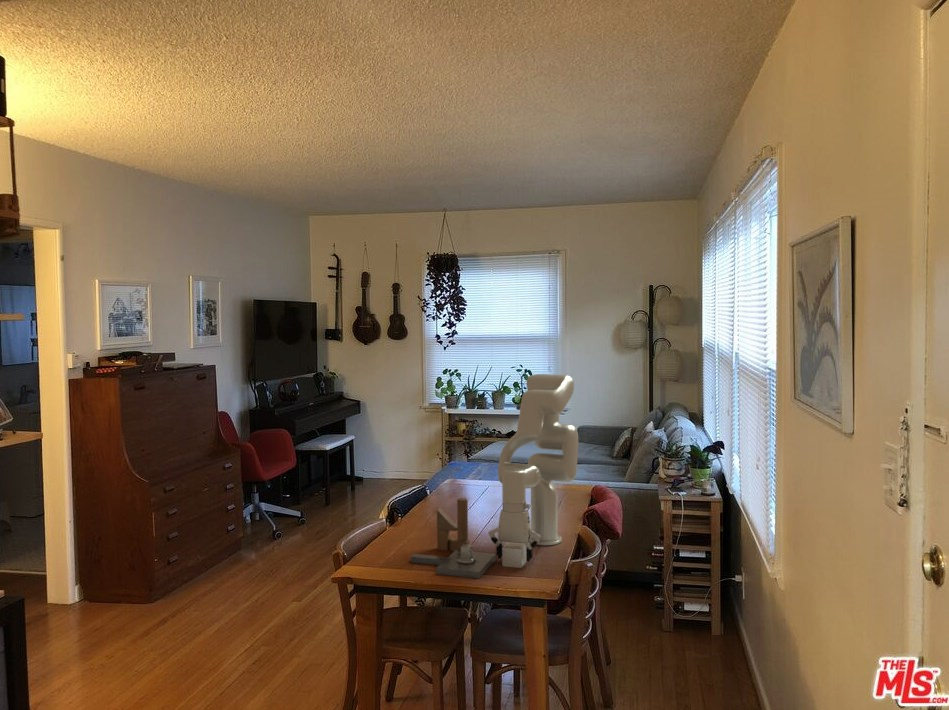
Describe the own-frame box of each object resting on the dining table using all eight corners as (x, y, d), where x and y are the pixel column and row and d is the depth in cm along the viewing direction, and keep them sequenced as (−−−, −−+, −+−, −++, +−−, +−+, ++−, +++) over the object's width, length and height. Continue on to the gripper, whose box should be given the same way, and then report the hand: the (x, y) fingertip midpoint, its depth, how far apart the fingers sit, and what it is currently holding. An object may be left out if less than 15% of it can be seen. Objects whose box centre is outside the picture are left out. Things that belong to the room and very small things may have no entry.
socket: (507, 559, 227) (507, 541, 227) (526, 561, 225) (526, 543, 225) (502, 566, 221) (502, 547, 221) (521, 568, 219) (521, 549, 219)
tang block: (422, 552, 235) (422, 533, 235) (495, 559, 227) (495, 539, 227) (401, 570, 218) (401, 549, 218) (479, 578, 210) (478, 556, 210)
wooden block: (440, 547, 241) (439, 496, 241) (469, 549, 239) (469, 498, 238) (437, 550, 238) (436, 498, 237) (467, 552, 235) (466, 500, 235)
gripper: (542, 505, 224) (542, 557, 224) (491, 502, 229) (492, 553, 229) (537, 511, 216) (537, 565, 217) (485, 507, 222) (485, 560, 222)
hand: (514, 558), depth 223 cm, fingers open, 9 cm apart
